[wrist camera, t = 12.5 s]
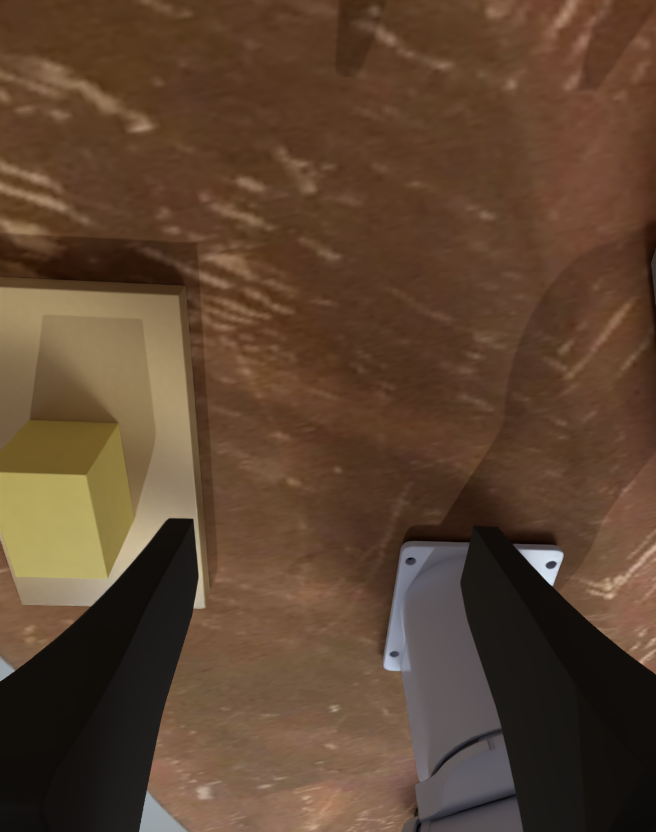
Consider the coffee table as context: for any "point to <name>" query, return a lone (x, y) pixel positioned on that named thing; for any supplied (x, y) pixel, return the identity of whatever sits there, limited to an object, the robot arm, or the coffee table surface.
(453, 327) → the coffee table surface
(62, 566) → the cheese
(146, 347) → the board
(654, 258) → the electronic device
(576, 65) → the coffee table surface
